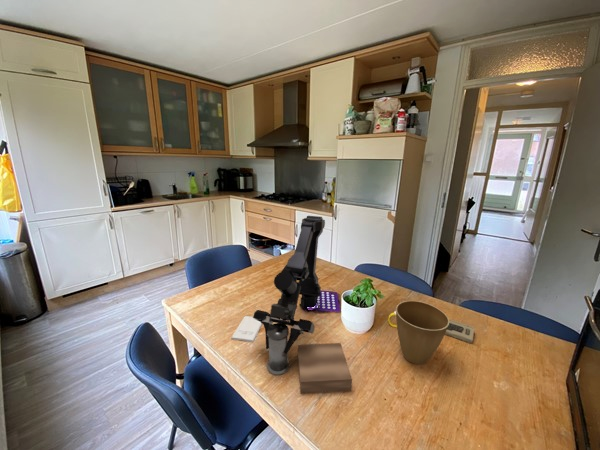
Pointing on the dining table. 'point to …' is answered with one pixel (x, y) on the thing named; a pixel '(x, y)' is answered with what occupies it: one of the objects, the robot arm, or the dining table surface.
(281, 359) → the cylinder
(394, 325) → the watch
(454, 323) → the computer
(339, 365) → the stand
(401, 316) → the brown hollow tapered container
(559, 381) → the dining table surface
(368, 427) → the dining table surface
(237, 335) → the external hard drive
